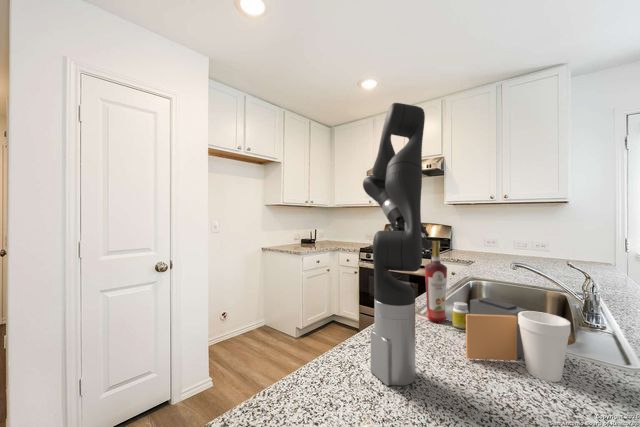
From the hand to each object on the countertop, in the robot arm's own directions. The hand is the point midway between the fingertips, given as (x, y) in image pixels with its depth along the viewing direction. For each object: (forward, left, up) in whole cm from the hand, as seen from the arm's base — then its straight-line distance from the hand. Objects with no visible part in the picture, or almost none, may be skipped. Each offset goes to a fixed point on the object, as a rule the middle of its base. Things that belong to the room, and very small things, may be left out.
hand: (420, 248), depth 88 cm
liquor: (+12, +5, -27) cm, 30 cm away
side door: (+2, -21, -26) cm, 33 cm away
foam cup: (+8, -30, -27) cm, 41 cm away
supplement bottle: (+13, -4, -27) cm, 30 cm away
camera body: (+11, -17, -26) cm, 33 cm away
